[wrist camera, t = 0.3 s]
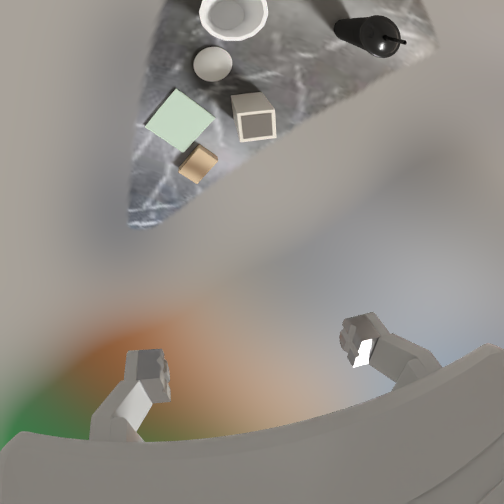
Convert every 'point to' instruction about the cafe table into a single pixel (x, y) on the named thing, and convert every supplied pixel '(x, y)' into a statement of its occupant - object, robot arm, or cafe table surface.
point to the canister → (253, 117)
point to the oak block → (198, 164)
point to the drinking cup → (371, 34)
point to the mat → (179, 120)
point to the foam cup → (233, 18)
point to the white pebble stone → (212, 64)
